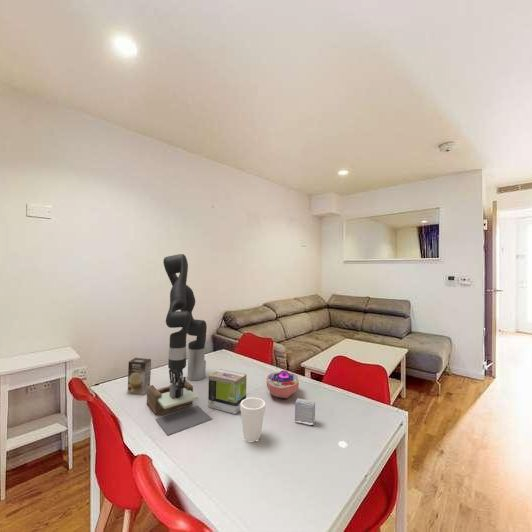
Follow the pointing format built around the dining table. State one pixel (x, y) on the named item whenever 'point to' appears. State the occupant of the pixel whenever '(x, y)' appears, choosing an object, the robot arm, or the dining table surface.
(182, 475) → the dining table surface
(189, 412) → the rubber mat
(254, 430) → the foam cup
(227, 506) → the dining table surface
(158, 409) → the walnut box
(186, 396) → the cover plate
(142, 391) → the coffee box
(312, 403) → the medicine box
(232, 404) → the tea box
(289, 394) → the cell model
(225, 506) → the dining table surface
